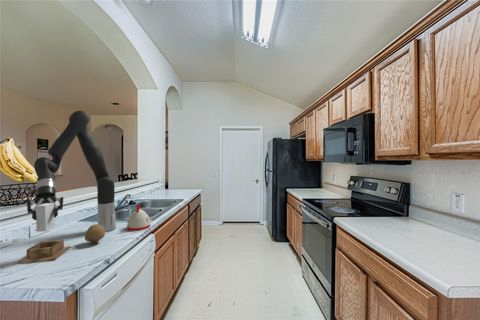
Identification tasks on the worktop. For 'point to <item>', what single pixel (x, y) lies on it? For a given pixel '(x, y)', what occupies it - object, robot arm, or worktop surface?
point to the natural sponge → (94, 233)
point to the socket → (45, 251)
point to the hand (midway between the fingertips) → (45, 217)
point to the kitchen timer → (138, 220)
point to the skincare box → (45, 217)
